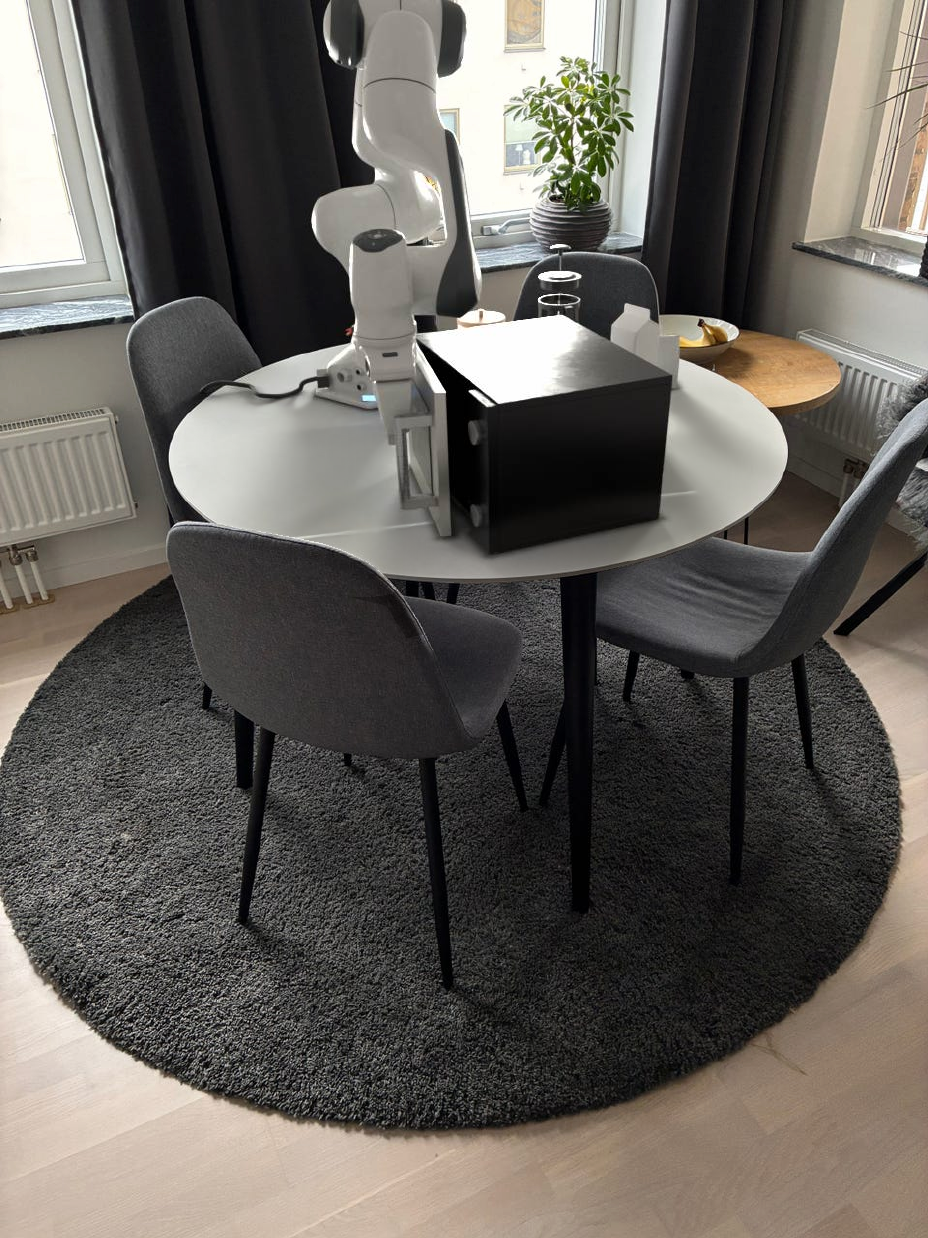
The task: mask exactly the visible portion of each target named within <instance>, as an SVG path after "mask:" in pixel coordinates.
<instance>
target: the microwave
mask: <svg viewBox="0 0 928 1238" xmlns="http://www.w3.org/2000/svg"><path fill="white" fill-rule="evenodd" d="M416 344H417V346H418V347H419V349H420V351H421V352H422V354H423V356H424V357H425V359H426V361H427V362H428V364H429V366H430V367H431V369H432V371H433V372H434V374H435V375H436V377H437V379H438V380H439V382H440V384H441V385H442V387H443V389H444V390H445V392H446V412H447V437H448V463H449V488H450V500H452V501H453V502H454V503H455V505H456V506H457V507H458V508H459V509H460V510H461V511H462V512H463V514H464V515H466V517H467V518H468V519H469V520H470V534H471V535H472V536H473V538H475V540H476V541H477V542H478V543H479V544H480V545H481V547H483V549H484V550H485V551H486V552H487V553H488V555H493V554H497V553H499V554H503V553H506V552H507V553H508V552H511V551H515V550H521V549H525V548H530V547H535V546H539V545H543V544H548V543H553V542H557V541H562V540H566V539H571V538H577V537H580V536H584V535H585V536H586V535H590V534H594V533H599V532H603V531H609V530H612V529H617V528H622V527H627V526H630V525H635V524H639V523H645V522H650V521H654V520H659V519H660V512H661V502H662V491H663V483H664V482H663V481H664V471H665V470H664V469H665V460H666V452H667V451H666V448H667V441H668V440H667V439H668V431H669V430H668V429H669V419H670V407H671V397H672V389H673V388H672V378H673V375H672V374H670V373H668V372H666V371H664V370H662V369H661V368H659V367H657V366H655V365H653V364H651V363H650V362H648V361H646V360H644V359H642V358H640V357H639V356H637V355H635V354H633V353H631V352H629V351H627V350H626V349H624V348H622V347H620V346H618V345H616V344H615V343H613V342H611V340H609V339H608V338H606V337H604V336H601V335H600V334H598V333H596V332H594V331H592V330H591V329H589V328H587V327H585V326H583V325H581V324H580V323H579V324H578V323H576V322H575V320H574V321H572V320H570V319H569V318H567V317H565V316H563V315H562V314H560V315H558V314H557V315H555V316H551V317H548V316H544V317H542V318H537V317H536V318H531V319H523V320H516V321H507V322H505V323H501V324H493V325H486V326H479V327H472V328H465V329H458V328H457V329H451V330H444V331H437V332H430V333H429V332H428V333H422V334H417V335H416Z"/></svg>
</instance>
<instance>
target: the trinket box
mask: <svg viewBox="0 0 928 1238" xmlns="http://www.w3.org/2000/svg"><path fill="white" fill-rule="evenodd" d="M501 323H506V316H505V314H503V313H501V312H497V311H492V310H484V309H483V308H479V309H478V310H473V311H470V312H468V313H467V314H466V315H464V316H463V317H461V318H456V324H457V330H458V329H465V328H472V327H479V326H486V325H493V324H501Z"/></svg>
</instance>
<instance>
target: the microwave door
mask: <svg viewBox="0 0 928 1238" xmlns="http://www.w3.org/2000/svg"><path fill="white" fill-rule="evenodd" d="M416 350H417V362H416V364H415V369H416V376H415V378H411V379H412V413H410V414H401V415H395V416H394V431H395V445H394V446H395V455H396V458H395V459H396V471H397V472H396V473H397V484H398V485H397V486H398V498H399V499H398V500H399V509H400V510H401V511H411V510H420V509H427V508H428V510H429V512H430V515H431V517H432V519H433V522H434V524H435V526H436V529H437V531H438V533H439V536H440V537H441V538H442V537H450V536H452V518H451V517H452V516H451V514H452V513H451V497H450V488H449V463H448V437H447V412H446V392H445V390H444V389H443V387H442V385H441V384H440V382H439V380H438V379H437V377H436V375H435V374H434V372H433V371H432V369H431V367H430V366H429V364H428V362H427V361H426V359H425V357H424V356H423V354H422V352H421V351H420V349H419V347H418V346H417V344H416ZM409 428H410V431H409V432H408V438H407V433H406V429H409ZM407 439H408V440H407ZM408 447H409V448H408ZM408 449H409V453H408ZM408 455H409V456H408ZM409 462H410V467H411V470H412V472H413V475H414V477H415V480H416V481H417V484H418V486H419V489H420V491H421V493H418V494H411V485H410V472H409V471H410V470H409Z"/></svg>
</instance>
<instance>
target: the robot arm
mask: <svg viewBox="0 0 928 1238" xmlns="http://www.w3.org/2000/svg"><path fill="white" fill-rule="evenodd" d="M322 26H323V27H322V28H323V38H324V42H325V45H326V48H327V51H328V55H329V57H330V58H331V59H332V60H333V61H334V63H335V64H337V65H339V66H341V67H343V68H346V69H349V70H354V69H356V75H355V85H354V94H353V95H354V96H353V111H352V112H353V113H352V132H351V144H352V146H353V149H354V152H355V153H356V155H357V156H358V158H359V159H360V160H361V161H362V162H364V163H365V164H367V165H369V166H370V167H372V168H374V174H375V175H374V181H373V183H371V184H366V185H365V184H364V185H358V186H350V187H343V188H339V189H337V190H335V191H332V192H329V193H327V194H325V195H323V196H320V197H318V198H317V200H316V202H315V204H314V206H313V210H312V213H311V227H312V231H313V234H314V236H315V239H316V240H317V242H318V243H319V245H320V246H321V247H322V248H323V250H325V251H326V252H328V253H329V254H331V256H333V257H334V258H336V259H337V260H338V261H339V262H340V264H341V265H342V266H343V268H344V270H345V271H346V273H347V275H348V277H349V292H350V303H351V305H352V308H353V311H354V318H355V319H354V320H355V321H354V324H353V325H351V327H349V328H347V329H345V331H346V332H347V333H346V334H345V335H346V336H350V335H352V336H351V340H350V342H349V343H348V344H347V345H346V346H345V347H344V348H342V349H341V350H340V351H339V352H338V353H337V354H336V355H334V356H333V357H332V358H331V360H330V361H329V362H328V365H327V368H321V369H319V368H318V369H315V370H316V375H315V376H311V377H308V378H304V379H303V380H301V381H300V382H299V384H298V387H297V388H295V389H293V390H291V391H287V392H283V393H263V392H260V391H258V388H257V387H256V386H255V385H253V384H251V383H247V382H240V381H233V380H215V381H212V382H209V383H207V384H205V385H204V386H202V388H201V389H200V390H199V392H198V393H199V394H205V393H206V392H207V391H208V390H210V389H212V388H215V387H219V386H220V387H221V386H228V387H238V388H243V389H250V390H251V391H252V393H253V395H254V396H256V397H257V398H260V399H268V400H269V399H270V400H271V399H272V400H277V399H284V398H288V397H291V396H295V395H298V394H299V393H301V392H302V391H303V390H304V387H305V385H307V384H311V383H314V382H316V383H317V388H316V391H315V392H316V396H317V397H321V398H323V399H328V400H330V401H335V402H339V403H343V404H347V405H350V406H354V407H357V408H362V409H367V410H373V409H378V413H379V417H380V418H381V423H382V425H383V429H384V432H385V438H386V440H387V444H388V446H396V445H395V431H394V416H395V415H401V414H410V413H412V379H411V378H415V376H416V369H415V364H416V362H417V350H416V335H418V328H417V327H418V326H417V321H416V320H415V316H437V317H444V318H453V319H454V318H455V319H457V318H461V317H463V316H464V315H466V314H467V313H468V312H472V310H473V309H474V308H475V307H476V306H477V305H478V304H479V303H480V300H481V295H482V289H483V279H482V277H483V276H482V272H481V267H480V262H479V259H478V257H477V252H476V248H475V241H474V233H473V226H472V217H471V211H470V210H471V209H470V203H469V195H468V188H467V181H466V175H465V168H464V162H463V157H462V151H461V147H460V145H459V141H458V139H457V136H456V134H455V132H453V131H452V130H450V129H448V128H446V127H445V125H444V123H443V121H442V119H441V116H440V112H439V95H438V94H439V79H444V78H450V77H453V76H454V75H455V74H457V73H458V72H459V71H460V69H461V68H462V65H463V62H464V60H465V58H466V56H467V53H468V49H469V41H470V40H469V38H470V37H469V36H470V35H469V27H468V23H467V15H466V13H465V11H464V10H463V8H462V6H461V5H460V4H458V3H456V2H454V1H453V0H330V1H329V2H328V4H327V7H326V9H325V12H324V16H323V24H322ZM424 177H426V178H428V179H429V180H431V181H432V182H433V183H434V184H435V185H436V186H437V188H438V193H439V195H438V193H437V191H436V190H435V188H434V187H433V186H432V185H431V184H430V183H429V182H428V181H426V179H425V178H424ZM441 219H442V223H443V230H444V237H445V239H444V241H443V242H442V243H441V244H439V245H410V244H415V243H416V242H417V243H418V242H419V241H421V240H424V239H426V238H428V237H429V236H432V235H434V234H435V233H436V231H437V230H438V228H439V226H440V223H441ZM409 431H410V428H409V429H406V434H409Z"/></svg>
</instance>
